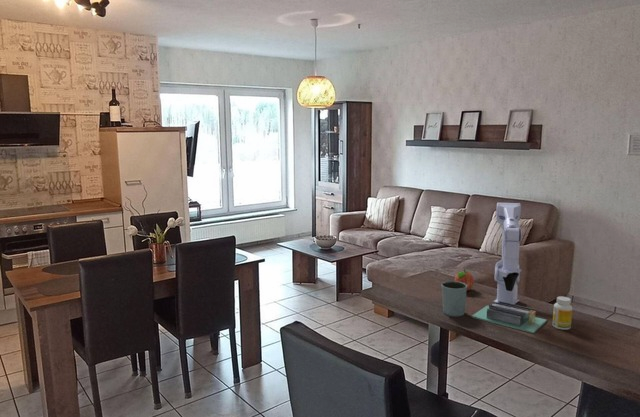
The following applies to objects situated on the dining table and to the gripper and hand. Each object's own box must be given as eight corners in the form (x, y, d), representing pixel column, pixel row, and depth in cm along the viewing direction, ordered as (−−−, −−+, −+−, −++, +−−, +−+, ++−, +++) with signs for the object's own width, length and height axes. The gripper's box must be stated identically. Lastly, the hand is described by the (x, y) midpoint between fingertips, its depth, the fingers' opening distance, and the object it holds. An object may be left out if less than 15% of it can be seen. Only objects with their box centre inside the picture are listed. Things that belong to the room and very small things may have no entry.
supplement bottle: (548, 325, 186) (550, 297, 184) (559, 322, 188) (561, 294, 186) (563, 331, 180) (565, 302, 178) (574, 328, 183) (576, 299, 181)
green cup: (467, 318, 194) (468, 289, 192) (441, 316, 196) (441, 288, 194) (464, 308, 204) (465, 281, 202) (440, 307, 206) (440, 280, 204)
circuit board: (487, 306, 205) (487, 305, 205) (546, 321, 190) (546, 319, 190) (471, 317, 194) (471, 315, 194) (533, 333, 179) (533, 331, 178)
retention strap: (490, 306, 195) (490, 305, 195) (493, 305, 197) (493, 303, 197) (527, 315, 185) (527, 313, 185) (529, 313, 187) (529, 311, 187)
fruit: (449, 288, 229) (450, 268, 227) (465, 285, 233) (465, 265, 231) (462, 294, 221) (463, 273, 219) (478, 290, 225) (479, 270, 224)
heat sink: (496, 309, 201) (497, 298, 200) (538, 319, 190) (539, 307, 189) (484, 317, 192) (485, 306, 191) (528, 328, 181) (528, 316, 180)
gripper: (514, 262, 184) (512, 297, 186) (527, 255, 195) (525, 288, 197) (496, 259, 189) (494, 293, 191) (510, 253, 200) (508, 284, 202)
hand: (509, 290), depth 194 cm, fingers closed
